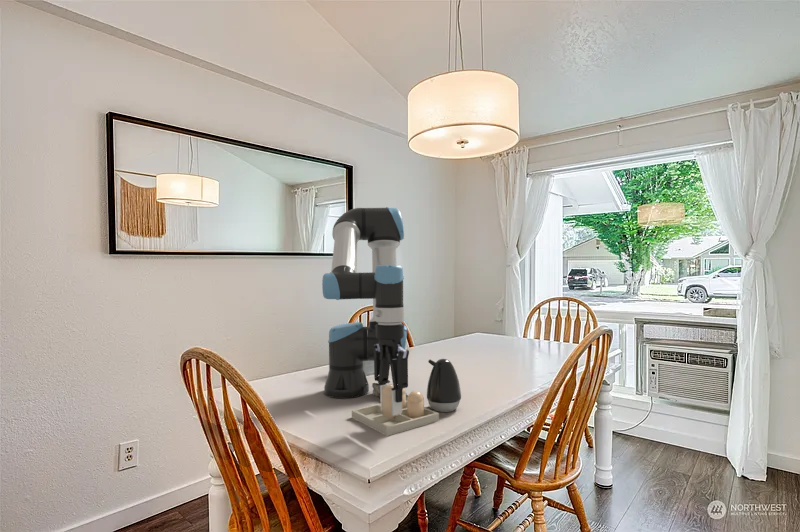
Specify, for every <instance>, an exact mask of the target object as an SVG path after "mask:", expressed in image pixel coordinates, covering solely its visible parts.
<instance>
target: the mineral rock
mask: <svg viewBox="0 0 800 532" xmlns="http://www.w3.org/2000/svg"><path fill="white" fill-rule="evenodd" d="M371 387H372V388H373V389H372V396H375V397H379V398H380V385H379V383H378V382H374V383H372V386H371ZM408 395H409V394H407V393H406V401H407V397H408Z"/></svg>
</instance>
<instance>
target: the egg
mask: <svg viewBox="0 0 800 532" xmlns="http://www.w3.org/2000/svg"><path fill="white" fill-rule="evenodd" d="M388 384H389V385H386V386H385V387H384V388H383V390H382V415H383V416H386V417H395V416H398V415H400V414H397V415H392V389H391V388H394V387H393V383H392V384H391V383H388Z"/></svg>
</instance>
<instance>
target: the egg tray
mask: <svg viewBox="0 0 800 532" xmlns="http://www.w3.org/2000/svg"><path fill="white" fill-rule="evenodd" d="M351 418H353V419H354V420H356V421H357V422H360V423H362V424H363V425H365V426H367V427H369V428H372V429H373V430H375V431H377V432H379V433H381V434H382V435H385V437H389V436H391V435H395V434H398V433H402V432H405V431H409V430H412V429H415V428H419V427H423V426H425V425H430V424H433V423H436V422H440V412H438V411H435V410H433V409H429V408H426V407H424V416H423V417H419V418H415V419H412V418H410V417H408V416H407V401H406V408H405V409H402V413H401V414H400V415H398V416H395V417H386V416H383V415H382V410H381V408H380V403H376V404H372V405H368V406H364V407H360V408H359V407H358V408H355V409H351Z"/></svg>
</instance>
